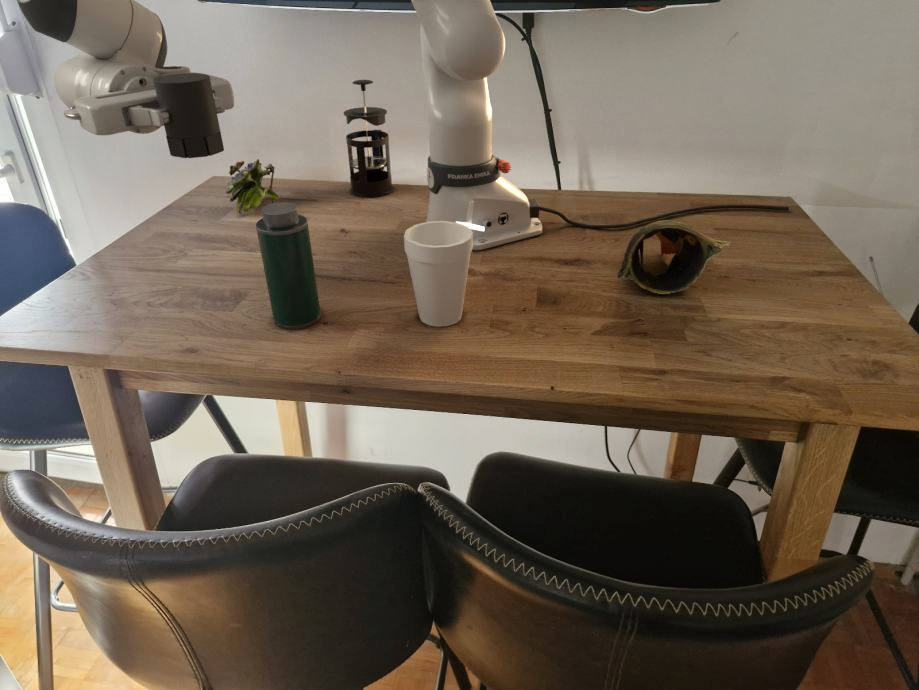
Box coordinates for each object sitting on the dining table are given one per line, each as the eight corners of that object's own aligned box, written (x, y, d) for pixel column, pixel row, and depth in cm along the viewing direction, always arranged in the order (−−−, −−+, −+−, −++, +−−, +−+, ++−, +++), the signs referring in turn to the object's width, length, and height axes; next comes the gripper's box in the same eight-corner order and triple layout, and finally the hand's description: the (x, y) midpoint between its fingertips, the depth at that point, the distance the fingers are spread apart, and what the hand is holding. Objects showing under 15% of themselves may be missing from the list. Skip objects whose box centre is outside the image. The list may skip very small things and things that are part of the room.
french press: (383, 200, 138) (375, 86, 126) (342, 197, 140) (330, 84, 128) (401, 183, 147) (394, 75, 135) (362, 180, 149) (353, 74, 137)
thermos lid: (222, 142, 89) (208, 71, 84) (225, 154, 83) (210, 80, 78) (171, 146, 87) (153, 75, 82) (170, 160, 81) (152, 84, 77)
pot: (691, 200, 110) (726, 203, 93) (707, 262, 113) (744, 277, 95) (593, 232, 113) (609, 241, 95) (610, 293, 115) (629, 313, 98)
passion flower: (248, 227, 140) (246, 173, 141) (293, 221, 137) (291, 166, 138) (215, 214, 129) (214, 155, 130) (263, 207, 126) (261, 147, 127)
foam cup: (449, 338, 90) (447, 253, 83) (396, 321, 94) (390, 238, 87) (483, 310, 97) (484, 228, 90) (432, 295, 101) (429, 216, 94)
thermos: (316, 303, 99) (301, 196, 90) (324, 324, 94) (308, 213, 85) (271, 311, 97) (250, 203, 88) (276, 333, 92) (255, 220, 83)
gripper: (48, 86, 80) (106, 100, 73) (193, 64, 94) (253, 74, 87) (65, 138, 84) (122, 156, 77) (202, 109, 97) (261, 122, 90)
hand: (193, 112), depth 82 cm, fingers closed on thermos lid, 6 cm apart
